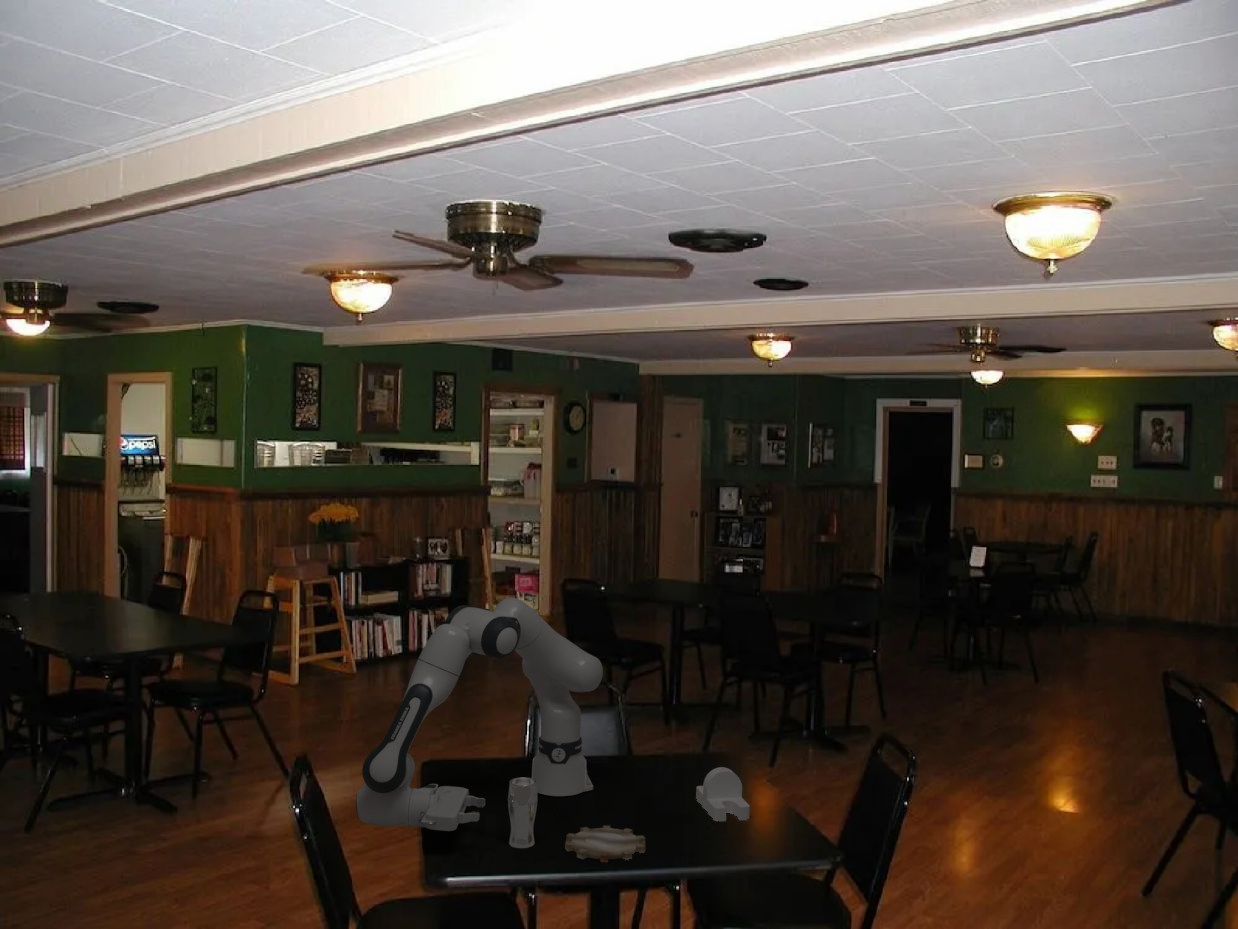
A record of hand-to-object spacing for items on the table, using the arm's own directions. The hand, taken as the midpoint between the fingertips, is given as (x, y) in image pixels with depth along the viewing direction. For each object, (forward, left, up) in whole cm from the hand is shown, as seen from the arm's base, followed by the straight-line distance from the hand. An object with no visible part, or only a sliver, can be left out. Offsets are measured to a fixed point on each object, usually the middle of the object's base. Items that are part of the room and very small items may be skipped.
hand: (482, 809), depth 263 cm
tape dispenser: (-29, +60, -8) cm, 67 cm away
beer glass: (0, +10, -8) cm, 13 cm away
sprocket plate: (0, +30, -8) cm, 31 cm away
